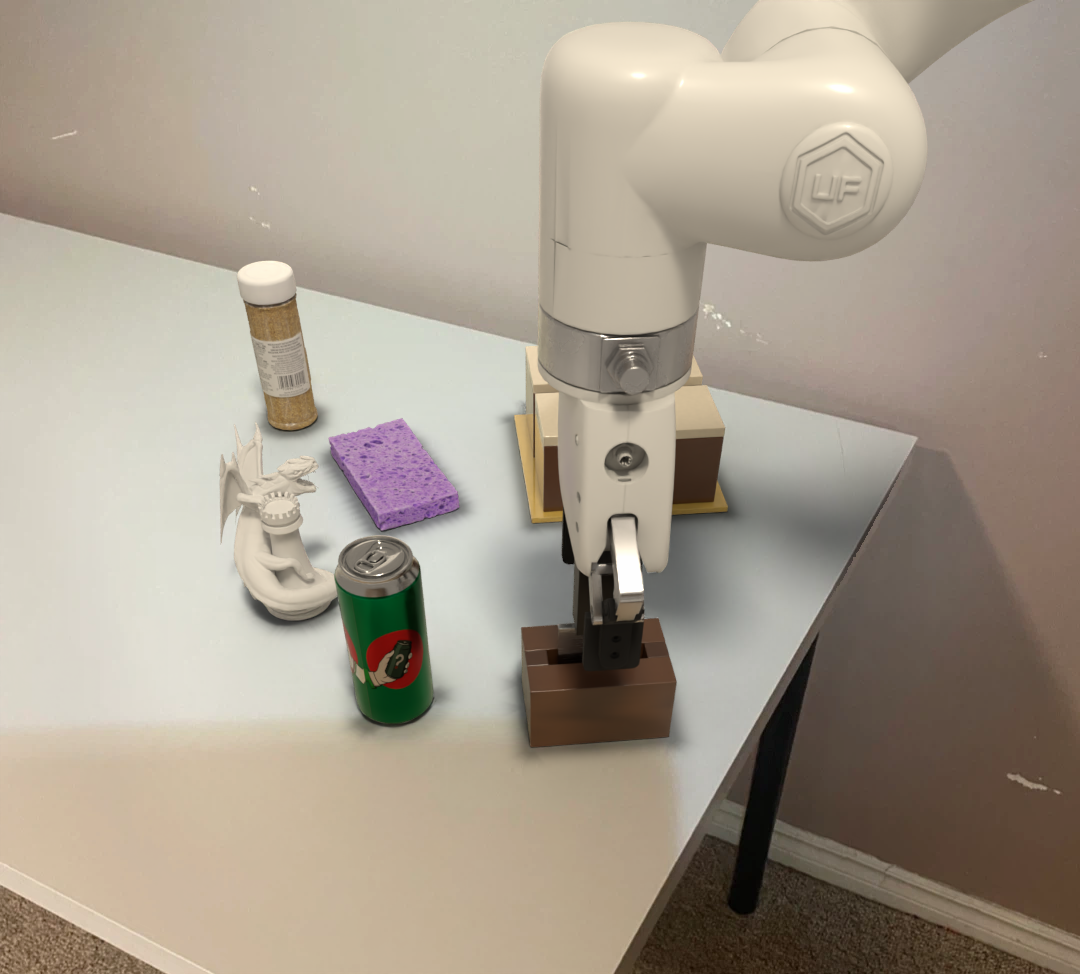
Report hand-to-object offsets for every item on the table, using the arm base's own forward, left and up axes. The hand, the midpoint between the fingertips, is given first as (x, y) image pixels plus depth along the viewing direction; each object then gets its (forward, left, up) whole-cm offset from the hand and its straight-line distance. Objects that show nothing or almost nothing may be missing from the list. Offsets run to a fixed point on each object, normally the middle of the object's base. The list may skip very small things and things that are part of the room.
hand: (597, 610), depth 61 cm
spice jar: (+22, -39, -9) cm, 46 cm away
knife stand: (0, 0, -9) cm, 9 cm away
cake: (-6, -29, -9) cm, 31 cm away
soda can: (+13, -2, -9) cm, 16 cm away
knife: (0, 0, -9) cm, 9 cm away
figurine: (+21, -15, -9) cm, 27 cm away
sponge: (+13, -28, -9) cm, 32 cm away
